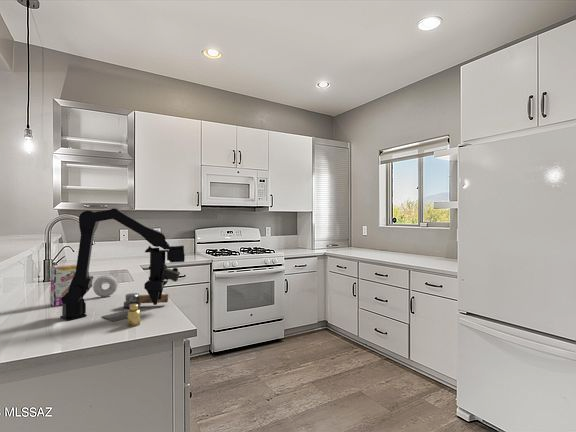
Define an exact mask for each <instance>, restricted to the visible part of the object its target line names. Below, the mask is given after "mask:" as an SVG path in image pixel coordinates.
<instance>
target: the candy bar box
mask: <svg viewBox="0 0 576 432" xmlns="http://www.w3.org/2000/svg"><path fill="white" fill-rule="evenodd" d="M76 266H77V263H69V264H59V265H50V275H49V276H50V285H49V288H50V289H49V295H50V296H49V305H50V306H51V307H60V306H61V307H62V300H61V298H62V297H63V296H64V295H65V294H67V293H68V292H69V291H68V290H69V287H70V284H71V281H72V279H73V277H74V274H75V272H76ZM82 299H84V296H83V297H82Z"/></svg>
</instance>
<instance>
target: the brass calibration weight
mask: <svg viewBox="0 0 576 432" xmlns="http://www.w3.org/2000/svg"><path fill="white" fill-rule="evenodd" d="M126 312H127V318H126V319H127V320H126V321H127V323H126V325H127V327H129V328H134V327H138V326H140V325H141V309H140V308H139V306H138V304H131V305H129V310H127V311H126Z"/></svg>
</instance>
